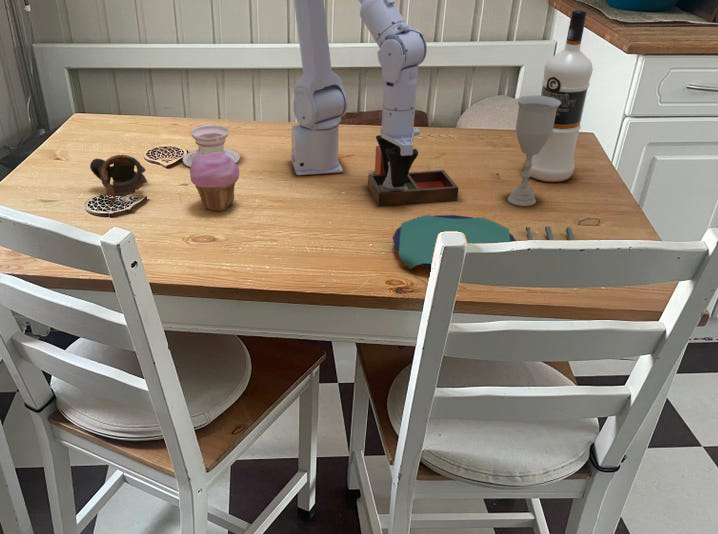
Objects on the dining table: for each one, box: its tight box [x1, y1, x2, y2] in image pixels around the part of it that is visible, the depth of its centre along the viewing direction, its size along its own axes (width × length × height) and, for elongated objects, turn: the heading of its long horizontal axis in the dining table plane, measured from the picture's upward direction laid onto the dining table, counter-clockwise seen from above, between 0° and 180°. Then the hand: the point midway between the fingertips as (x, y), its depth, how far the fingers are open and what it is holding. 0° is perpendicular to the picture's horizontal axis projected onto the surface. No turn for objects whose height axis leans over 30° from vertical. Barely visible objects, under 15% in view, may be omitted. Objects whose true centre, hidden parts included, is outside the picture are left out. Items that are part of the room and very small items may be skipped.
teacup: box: [182, 124, 241, 168], centre depth 151 cm, size 12×12×6 cm
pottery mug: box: [89, 154, 148, 203], centre depth 138 cm, size 12×10×8 cm
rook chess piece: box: [382, 162, 406, 192], centre depth 135 cm, size 4×4×8 cm
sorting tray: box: [367, 169, 459, 207], centre depth 137 cm, size 15×9×2 cm, turn 98°
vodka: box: [530, 9, 594, 183], centre depth 136 cm, size 9×9×30 cm
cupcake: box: [189, 152, 240, 212], centre depth 131 cm, size 9×9×10 cm
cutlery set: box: [392, 214, 575, 270], centre depth 117 cm, size 20×30×2 cm, turn 82°
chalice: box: [507, 94, 561, 207], centre depth 129 cm, size 7×7×18 cm
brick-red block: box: [374, 145, 385, 175], centre depth 143 cm, size 4×4×6 cm
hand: (394, 180), depth 135 cm, fingers open, 5 cm apart
